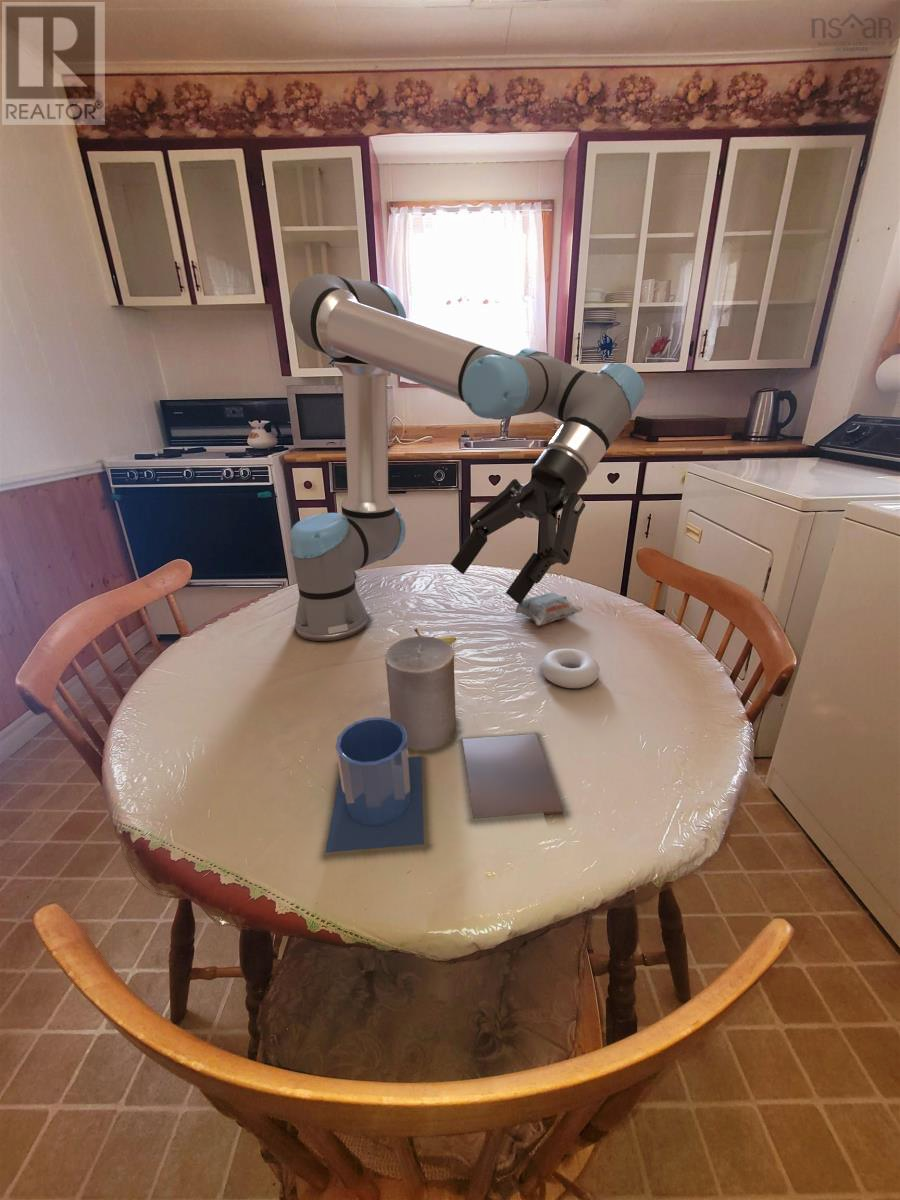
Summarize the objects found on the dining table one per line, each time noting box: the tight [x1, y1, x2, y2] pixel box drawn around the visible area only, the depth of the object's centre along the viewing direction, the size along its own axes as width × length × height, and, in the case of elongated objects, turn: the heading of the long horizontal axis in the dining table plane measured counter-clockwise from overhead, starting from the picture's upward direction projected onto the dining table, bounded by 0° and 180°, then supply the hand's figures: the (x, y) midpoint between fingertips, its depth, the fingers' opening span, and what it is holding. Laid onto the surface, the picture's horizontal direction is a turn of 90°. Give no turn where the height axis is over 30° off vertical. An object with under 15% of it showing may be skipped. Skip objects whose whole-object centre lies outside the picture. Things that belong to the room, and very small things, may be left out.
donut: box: [540, 648, 600, 689], centre depth 85 cm, size 10×4×10 cm
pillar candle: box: [385, 635, 457, 751], centre depth 70 cm, size 10×10×15 cm
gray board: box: [461, 733, 565, 819], centre depth 65 cm, size 14×11×1 cm
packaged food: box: [514, 592, 583, 627], centre depth 105 cm, size 9×12×5 cm
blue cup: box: [335, 716, 411, 826], centre depth 59 cm, size 8×8×10 cm
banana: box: [414, 627, 457, 645], centre depth 95 cm, size 8×2×4 cm, turn 88°
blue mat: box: [325, 756, 425, 853], centre depth 61 cm, size 14×11×1 cm
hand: (482, 583), depth 69 cm, fingers open, 13 cm apart
